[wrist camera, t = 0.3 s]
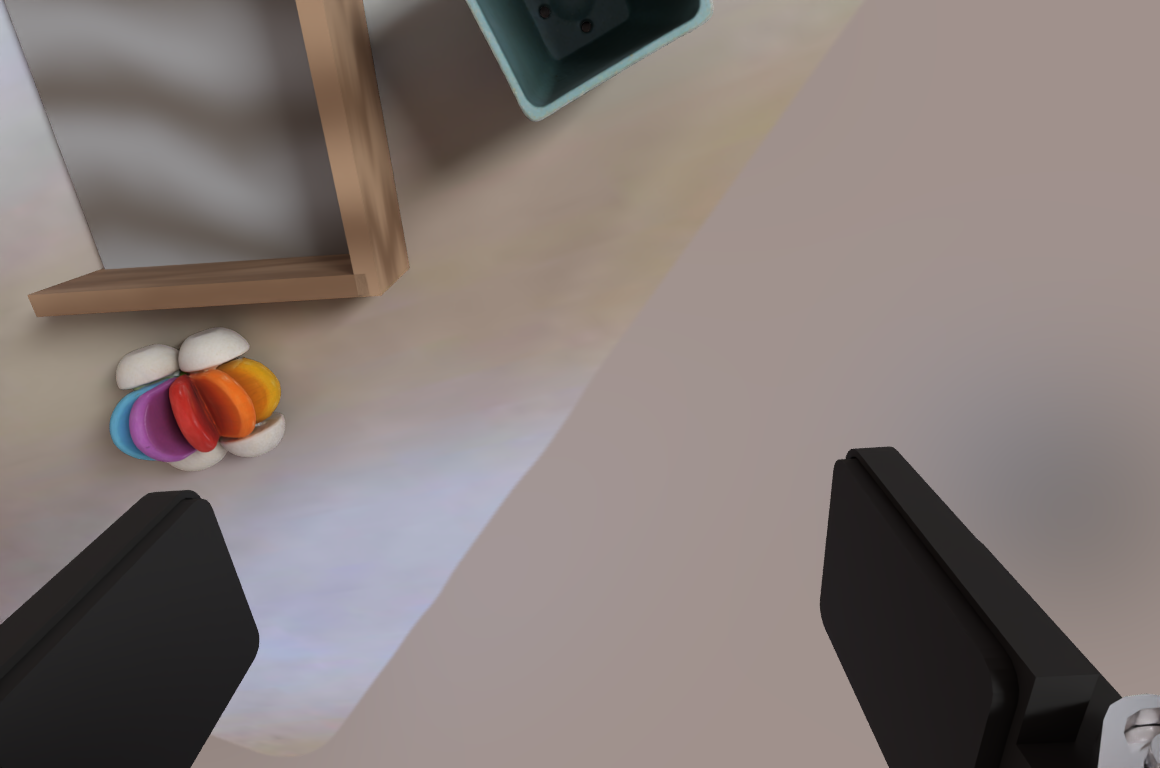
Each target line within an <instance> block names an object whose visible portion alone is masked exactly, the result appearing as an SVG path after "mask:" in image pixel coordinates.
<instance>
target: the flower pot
mask: <svg viewBox="0 0 1160 768" xmlns="http://www.w3.org/2000/svg"><path fill="white" fill-rule="evenodd" d="M465 1H466V3H467V5H468V7H469V9H470V10H471V12H472V14H473V16H474V18H475V20H476V22H477V24H478V26H479V28H480V30H481V31H482V33H483V35H484V37H485V39H486V41H487V43H488V45H489V47H490V48H491V50H492V52H493V54H494V56H495V58H496V60H497V62H498V64H499V66H500V68H501V70H502V72H503V74H504V75H505V78H506V80H507V82H508V84H509V86H510V88H511V90H512V92H513V94H514V95H515V97H516V100H517V102H518V104H519V106H520V108H521V109H522V111H523V113H524V114H525V116H526V117H527V118H528V119H529V120H531V121H540V120H542V119H544V118H546V117H548V116H550V115H551V114H553V113H555V112H556V111H557V110H559V109H560V108H562V107H564V106H566V105H567V104H569V103H570V102H572V101H574V100H575V99H577V98H579V97H580V96H582V95H584V94H585V93H587V92H588V91H590V90H591V89H594V88H595V87H597V86H598V85H600V84H602V83H603V82H605V81H606V80H608V79H610V78H611V77H613V76H615V75H617V74H618V73H620V72H622V71H623V70H625V69H627V68H628V67H630V66H632V65H633V64H635V63H637V62H638V61H640V60H642V59H643V58H645V57H647V56H649V55H650V54H652V53H654V52H655V51H657V50H659V49H661V48H662V47H664V46H666V45H668V44H669V43H671V42H673V41H674V40H677V39H678V38H680V37H681V36H684V35H685V34H687V33H689V32H691V31H693V30H694V29H696V28H698V27H699V26H701V25H703V24H704V23H706V22H707V21H708V20H709V19H710V17H711V16H712V14H713V2H712V0H465ZM544 6H545V7H548V8H549V11H550V14H549V16H548V17H547V18H543V17H542V16H541V15H540V9H541V8H542V7H544ZM586 21H588V22H590V24H591V29H590V31H589V32H584V31H583V30H582V24H583V22H586Z"/></svg>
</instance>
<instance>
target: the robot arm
mask: <svg viewBox="0 0 1160 768" xmlns="http://www.w3.org/2000/svg"><path fill="white" fill-rule="evenodd" d="M820 611H821V617H822V621H823V624H824V627H825V630H826V632H827V634H828V636H829V638H830V640H831V642H832V645H833V647H834V649H835V651H836V653H837V656H838V658H839V660H840V662H841V664H842V666H843V669H844V671H845V673H846V675H847V677H848V679H849V682H850V684H851V686H852V688H853V690H854V693H855V695H856V697H857V699H858V701H859V703H860V706H861V708H862V710H863V712H864V714H865V716H866V719H867V721H868V723H869V725H870V727H871V729H872V732H873V734H874V736H875V738H876V740H877V742H878V744H879V747H880V749H881V751H882V753H883V755H884V757H885V760H886V762H887V764H888V766H889V768H1160V695H1153V694H1142V695H1133V696H1126V697H1123V698H1122V697H1121V696H1120V695H1119V694H1118V692H1117V691H1116V690H1115V689H1114V688H1113V687H1112V686H1111V685H1110V684H1109V682H1108V681H1107V680H1106V679H1105V678H1104V677H1103V676H1102V675H1101V674H1100V672H1099V671H1098V670H1097V669H1096V668H1095V667H1094V666H1093V665H1092V664H1091V663H1090V662H1089V660H1088V659H1087V658H1086V657H1085V656H1084V655H1083V654H1082V653H1081V652H1080V650H1079V649H1078V648H1077V647H1076V646H1075V645H1074V644H1073V643H1072V642H1071V641H1070V639H1069V638H1068V637H1067V636H1066V635H1065V634H1064V633H1063V632H1062V631H1061V630H1060V628H1059V627H1058V626H1057V625H1056V624H1055V623H1054V622H1053V621H1052V620H1051V618H1050V617H1048V615H1047V614H1046V613H1045V612H1044V611H1043V610H1042V609H1041V608H1040V606H1039V605H1038V604H1037V603H1036V602H1035V601H1034V600H1033V599H1032V597H1031V596H1030V595H1029V594H1028V593H1027V592H1026V591H1025V590H1024V589H1023V588H1022V586H1021V585H1020V584H1019V583H1018V582H1017V581H1016V580H1015V579H1014V578H1013V576H1012V575H1011V574H1010V573H1009V572H1008V571H1007V570H1006V569H1005V568H1004V567H1003V565H1002V564H1001V563H1000V562H999V561H998V560H997V559H996V558H995V557H994V556H993V555H992V553H991V552H990V551H989V550H988V549H987V548H986V547H985V546H984V544H982V543H981V542H980V541H979V540H978V539H977V538H975V536H974V535H973V534H972V533H971V532H970V531H969V530H968V529H967V527H966V526H965V525H964V524H963V523H962V522H961V521H960V520H959V519H958V518H957V516H956V515H955V514H954V513H953V512H952V511H951V510H950V509H949V507H948V506H947V505H946V504H945V503H944V502H943V501H942V500H941V499H940V497H939V496H938V495H937V494H936V493H935V492H934V491H933V490H932V489H931V488H930V486H929V485H928V484H927V483H926V482H925V481H924V480H923V479H922V477H921V476H920V475H919V474H918V473H917V472H916V471H915V470H914V469H913V468H912V466H911V465H910V464H909V463H908V462H907V461H906V460H905V459H904V458H903V457H902V455H901V454H900V453H899V452H898V451H897V450H896V449H895V448H893V447H876V448H859V449H851V450H850V451H848V453H847V455H846V459H841V460H837V461H836V463H835V465H834V470H833V480H832V489H831V499H830V509H829V518H828V529H827V538H826V547H825V557H824V567H823V577H822V586H821V596H820ZM258 648H259V633H258V629H257V627H256V624H255V621H254V619H253V616H252V613H251V611H250V608H249V605H248V603H247V600H246V597H245V594H244V592H243V589H242V586H241V584H240V581H239V578H238V576H237V573H236V570H235V568H234V565H233V562H232V560H231V557H230V554H229V552H228V549H227V546H226V543H225V541H224V538H223V535H222V533H221V530H220V527H219V525H218V522H217V519H216V517H215V514H214V511H213V509H212V507H211V505H210V503H209V502H208V501H207V500H204V499H201V498H200V496H199V495H198V494H197V493H196V492H194V491H191V490H182V491H166V492H153V493H148V494H147V495H145V496H144V497H142V498H141V499H140V500H139V501H138V502H137V503H136V504H134V505H133V506H132V507H131V508H130V509H129V510H128V511H127V512H125V513H124V514H123V515H122V516H121V517H120V518H119V519H118V520H117V521H115V522H114V523H113V524H112V525H111V526H110V527H109V528H108V529H107V530H105V531H104V532H103V533H102V534H101V535H100V536H99V537H98V538H97V539H95V540H94V541H93V542H92V543H91V544H90V545H89V546H88V547H87V548H85V549H84V550H83V551H82V552H81V553H80V554H79V555H78V556H77V557H75V558H74V559H73V560H72V561H71V562H70V563H69V564H68V565H67V566H65V567H64V568H63V569H62V570H61V571H60V572H59V573H58V574H57V575H55V576H54V577H53V578H52V579H51V580H50V581H49V582H48V583H47V584H45V585H44V586H43V587H42V588H41V589H40V590H39V591H38V592H37V593H35V594H34V595H33V596H32V597H31V598H30V599H29V600H28V601H26V602H25V603H24V604H23V605H22V606H21V607H20V608H19V609H18V610H16V611H15V612H14V613H13V614H12V615H11V616H10V617H9V618H8V619H6V620H5V621H4V622H3V623H2V624H1V625H0V768H190V767H191V766H192V764H193V762H194V760H195V759H196V757H197V755H198V754H199V752H200V751H201V749H202V747H203V745H204V744H205V742H206V740H207V739H208V737H209V735H210V734H211V732H212V730H213V728H214V727H215V725H216V723H217V722H218V720H219V718H220V717H221V715H222V713H223V711H224V710H225V708H226V706H227V705H228V703H229V701H230V700H231V698H232V696H233V694H234V693H235V691H236V689H237V688H238V686H239V684H240V683H241V681H242V679H243V678H244V676H245V674H246V672H247V671H248V669H249V667H250V666H251V664H252V662H253V661H254V659H255V657H256V654H257V651H258Z"/></svg>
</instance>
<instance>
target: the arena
mask: <svg viewBox="0 0 1160 768" xmlns="http://www.w3.org/2000/svg"><path fill="white" fill-rule="evenodd" d="M4 2H5V4H6V7H7V10H8V12H9V15H10V18H11V20H12V23H13V26H14V28H15V31H16V34H17V36H18V39H19V42H20V44H21V47H22V50H23V52H24V55H25V58H26V60H27V63H28V66H29V68H30V71H31V74H32V76H33V79H34V82H35V84H36V87H37V90H38V92H39V95H40V98H41V100H42V103H43V106H44V108H45V111H46V114H47V116H48V119H49V122H50V124H51V127H52V130H53V132H54V135H55V138H56V140H57V143H58V146H59V148H60V151H61V154H62V156H63V159H64V162H65V164H66V167H67V169H68V172H69V175H70V177H71V180H72V183H73V185H74V188H75V191H76V193H77V196H78V199H79V201H80V204H81V207H82V209H83V212H84V215H85V217H86V220H87V223H88V225H89V228H90V231H91V233H92V236H93V239H94V241H95V244H96V247H97V249H98V252H99V255H100V257H101V260H102V263H103V265H104V269H101V270H98V271H95V272H92V273H89V274H86V275H84V276H81V277H78V278H75V279H72V280H69V281H66V282H64V283H61V284H58V285H55V286H52V287H49V288H46V289H43V290H41V291H38V292H35V293H32V294H29V295H28V298H29V300H30V302H31V304H32V307H33V309H34V311H35V314H36V316H37V317H43V316H59V315H75V314H91V313H108V312H124V311H140V310H156V309H172V308H189V307H205V306H221V305H237V304H254V303H270V302H286V301H302V300H318V299H335V298H351V297H367V296H381V295H382V294H383V293H384V292H385V291H387V290H388V289H389V288H390V287H391V286H392V285H393V284H394V283H395V282H396V281H397V280H398V279H399V278H400V277H401V276H402V275H403V274H404V273H405V272H406V271H407V270H408V269H409V268H410V267H409V262H408V256H407V250H406V244H405V239H404V233H403V227H402V222H401V216H400V210H399V205H398V199H397V193H396V188H395V182H394V176H393V171H392V165H391V159H390V154H389V148H388V142H387V136H386V131H385V125H384V119H383V114H382V108H381V102H380V97H379V91H378V85H377V80H376V74H375V68H374V63H373V57H372V51H371V45H370V40H369V34H368V28H367V23H366V17H365V11H364V6H363V0H4Z"/></svg>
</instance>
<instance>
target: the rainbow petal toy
mask: <svg viewBox="0 0 1160 768" xmlns="http://www.w3.org/2000/svg"><path fill="white" fill-rule="evenodd" d="M249 347H250V346H249V343H248V342H247V341H246V340H245V339H244V338H243V337H242V336H241V335H240V334H239V333H237V332H235V331H233V330H231V329H228V328H224V327H214V328H210V329H207V330H203V331H200V332H198V333H195V334H193V335H190V336H189V337H187V338H186V340H185V341H184V342H183V344H182V345H181V348H180V350H179V351H178V350H177V349H175V348H173V347H170V346H167V345H163V344H153V345H149V346H146V347H143V348H140V349H137V350H135V351H132V352H130V353H128V354H126V355H125V356H124V357H123V358H122V359H121V361H120V362H119V364H118V367H117V370H116V382H117V385H118V387H119V388H120V389H122V390H125V389H134V391H133V392H131V393H129V394H127V395H126V396H125V397H124V398H123V399H121V401H120V402H119V403H118V404H117V406H116V407H115V409H114V411H113V413H112V415H111V419H110V434H111V438H112V440H113V442H114V444H115V445H116V446H117V447H118V448H119V449H120V450H121V451H122V452H124V453H125V454H127V455H129V456H132V457H134V458H137V459H143V460H158V461H163V462H168V463H169V464H170V465H172V466H173V467H175V468H177V469H180V470H184V471H201V470H204V469H207V468H209V467H211V466H213V465H215V464H216V463H218V462H219V461H221V460H222V459H223V457H224V456H225V455H226V453H227V451H229V452H230V453H232V454H234V455H237V456H240V457H257V456H260V455H263V454H265V453H267V452H269V451H271V450H272V449H274V448H275V447H276V446H277V445H278V444H279V442H280V441H281V439H282V437H283V435H284V432H285V419H284V416H283V414H281V413H277V412H273V411H274V410H275V409H276V407H277V405H278V403H279V401H280V396H281V388H280V383H279V381H278V379H277V378H276V376H275V375H274V374H273V373H272V372H271V371H270V370H269V369H268V368H267V367H265V366H264V365H263V364H261V363H259V362H257V361H254V360H251V359H247V358H245V357H242V358H237V359H234V358H236V357H238V356H240V355H242V354H244V353H245V352H247V350H248V349H249ZM179 369H181V370H182V371H179ZM187 373H189V375H188V374H187Z"/></svg>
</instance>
